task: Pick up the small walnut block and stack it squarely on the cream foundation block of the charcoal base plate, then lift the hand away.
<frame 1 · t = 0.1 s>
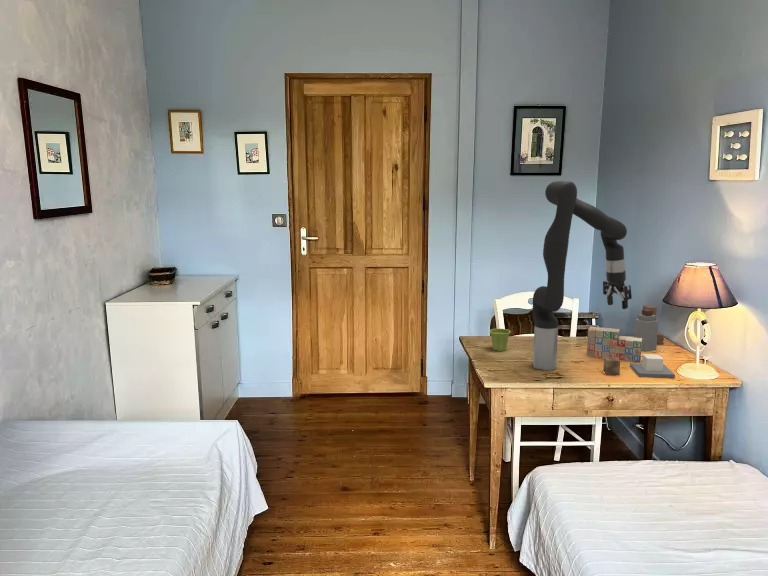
hand: (617, 306, 242), 22 cm above the table, tool pointing down, fingers open, 8 cm apart
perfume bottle: (644, 349, 258), on the table
wooden block: (651, 343, 267), on the table
stack of blocks: (613, 358, 246), on the table
base plate: (651, 372, 226), on the table
walnut block: (611, 373, 225), on the table
plant pot: (499, 349, 259), on the table
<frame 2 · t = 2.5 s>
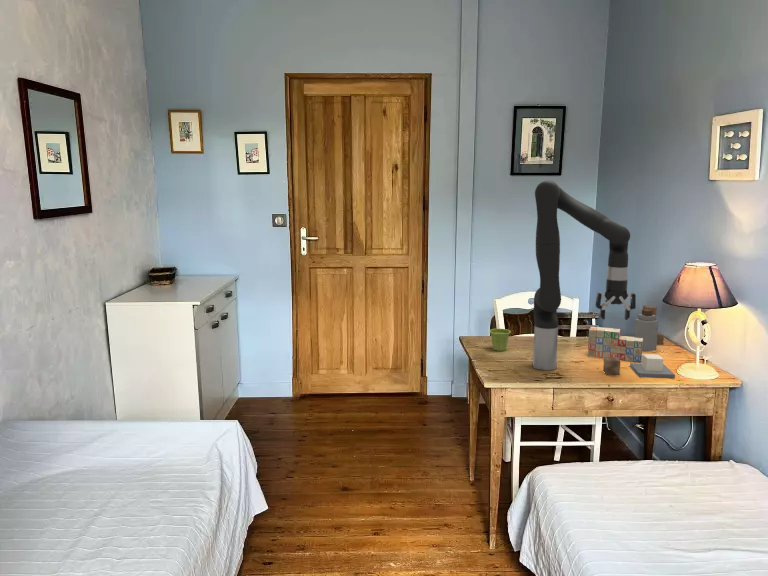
hand: (614, 319, 221), 22 cm above the table, tool pointing down, fingers open, 8 cm apart
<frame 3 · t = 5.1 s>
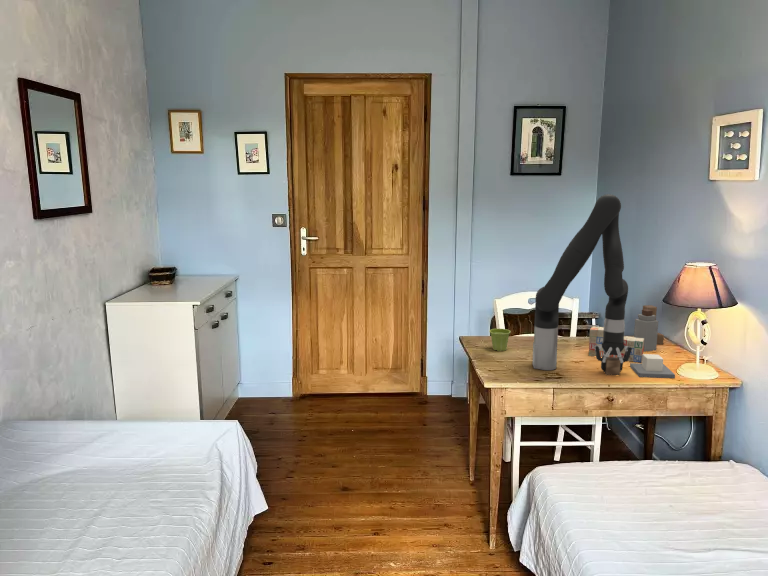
hand: (611, 371, 225), 1 cm above the table, tool pointing down, fingers closed on walnut block, 5 cm apart
walnut block: (611, 373, 225), on the table, touching gripper
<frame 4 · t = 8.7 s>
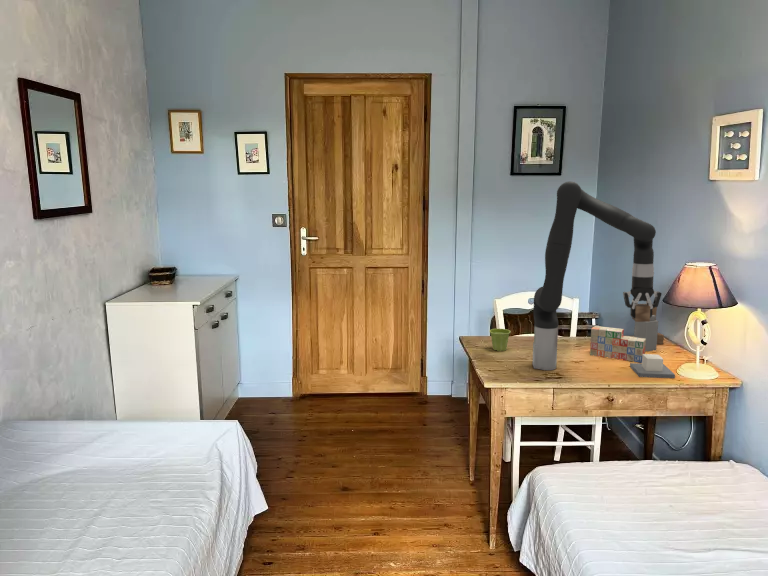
hand: (641, 317, 221), 22 cm above the table, tool pointing down, fingers closed on walnut block, 5 cm apart
walnut block: (640, 320, 221), point 21 cm above the table, touching gripper
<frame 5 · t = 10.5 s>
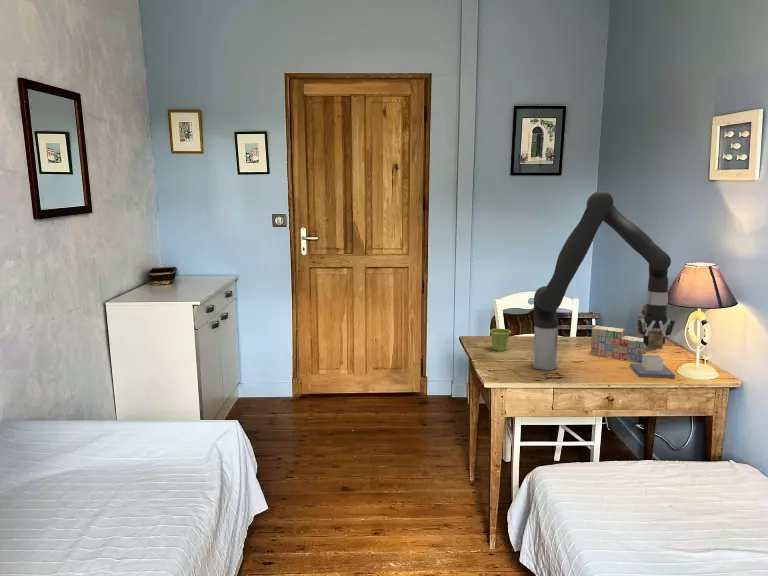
hand: (653, 344, 224), 11 cm above the table, tool pointing down, fingers closed on walnut block, 5 cm apart
walnut block: (653, 347, 224), point 10 cm above the table, touching gripper
when the fingers open (8 cm above the table, at t = 12.1 s): walnut block stays where it is, resting on base plate.
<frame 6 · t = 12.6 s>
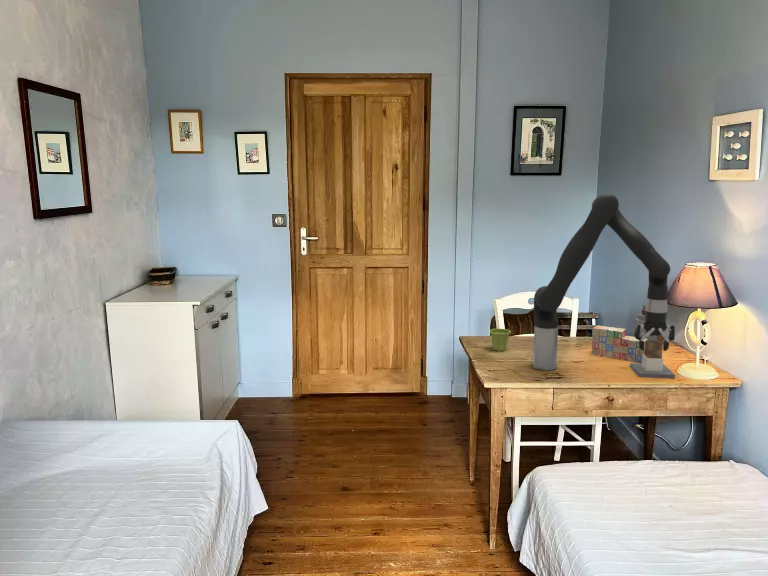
hand: (653, 350, 224), 9 cm above the table, tool pointing down, fingers open, 8 cm apart
walnut block: (652, 356, 224), point 6 cm above the table, touching base plate
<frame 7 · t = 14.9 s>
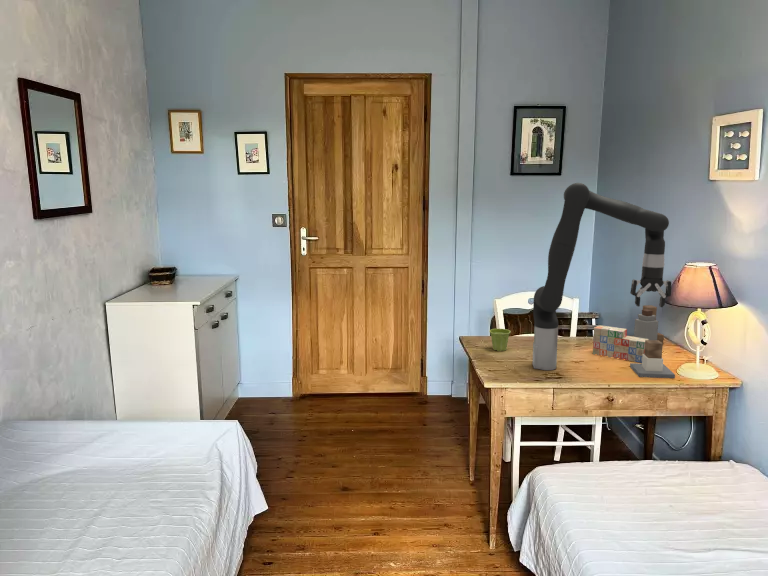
hand: (649, 306, 222), 26 cm above the table, tool pointing down, fingers open, 8 cm apart
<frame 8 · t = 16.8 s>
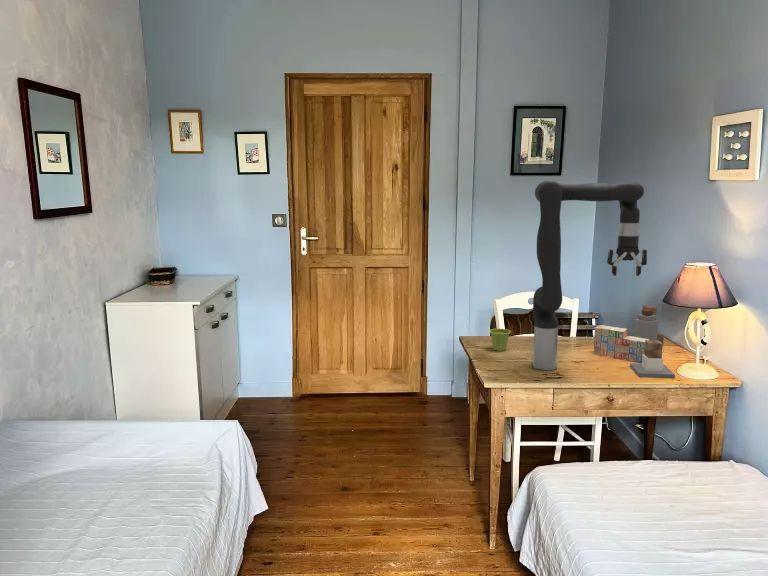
hand: (625, 275, 224), 38 cm above the table, tool pointing down, fingers open, 8 cm apart
at the end: walnut block 0.0 cm off-centre on the base plate, point 6.5 cm above the base plate's base; walnut block tilted 0°; the gripper is holding nothing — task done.
